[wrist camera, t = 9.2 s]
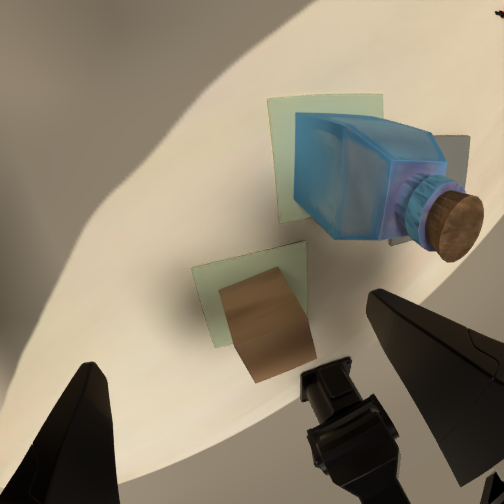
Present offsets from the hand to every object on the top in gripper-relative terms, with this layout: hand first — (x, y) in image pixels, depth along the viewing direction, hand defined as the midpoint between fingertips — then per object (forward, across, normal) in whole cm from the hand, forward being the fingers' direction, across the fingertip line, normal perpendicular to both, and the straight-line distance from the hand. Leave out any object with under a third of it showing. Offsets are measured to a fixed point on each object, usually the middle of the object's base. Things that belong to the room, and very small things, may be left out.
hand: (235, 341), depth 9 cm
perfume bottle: (+13, -10, -1) cm, 16 cm away
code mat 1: (+13, -3, +10) cm, 17 cm away
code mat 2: (+13, -10, -1) cm, 16 cm away
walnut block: (+13, -3, +10) cm, 17 cm away
